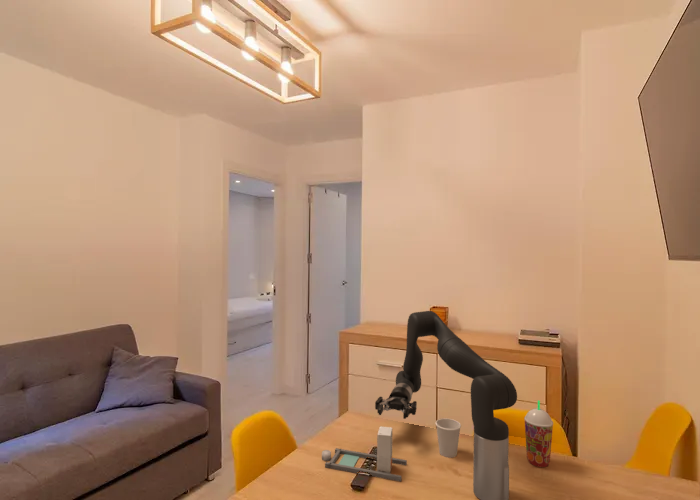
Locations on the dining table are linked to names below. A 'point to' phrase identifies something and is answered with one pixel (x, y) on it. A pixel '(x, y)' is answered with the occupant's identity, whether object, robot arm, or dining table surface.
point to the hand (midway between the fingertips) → (391, 414)
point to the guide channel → (350, 461)
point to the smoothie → (538, 436)
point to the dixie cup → (448, 436)
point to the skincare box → (384, 449)
